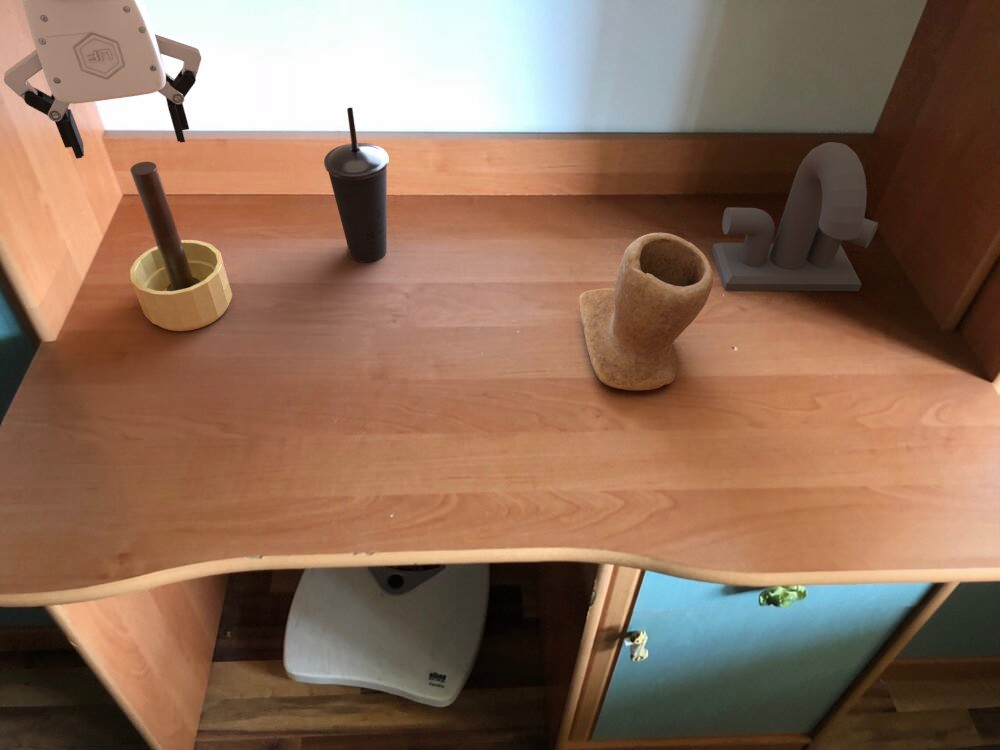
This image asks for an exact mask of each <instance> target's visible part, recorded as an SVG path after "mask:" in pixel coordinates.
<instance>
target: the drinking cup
mask: <svg viewBox="0 0 1000 750" xmlns="http://www.w3.org/2000/svg"><path fill="white" fill-rule="evenodd" d="M346 112H347V120H348V127H349V136H350V143H346V144H342V145H339V146H337V147H335V148H333V149H331V150H329V152H328V153H327V154H326V155H325V157H324V159H323V160H324V161H323V165H324V168H325V170H326V171H327V172H328V176H329V180H330V184H331V187H332V191H333V195H334V199H335V203H336V206H337V210H338V214H339V218H340V222H341V226H342V229H343V233H344V237H345V240H346V244H347V248H348V249H347V250H348V253H349V256H350V258H352V259H353V260H355V261H357V262H360V263H373V262H377V261H379V260H381V259H382V258H384V256H386V254H387V240H388V239H387V236H388V235H387V230H388V229H387V227H388V226H387V224H388V223H387V222H388V221H387V219H388V217H387V212H388V211H387V210H388V209H387V204H388V203H387V201H388V198H387V195H388V194H387V193H388V192H387V190H388V189H387V187H388V185H387V182H388V181H387V179H388V177H387V176H388V166H389V163H390V159H389V154H388V153H387V151H386V150H385V149H384V148H383V147H380V146H378V145H377V144H376V145H375V144H372V143H366V142H358V137H357V129H356V123H355V121H356V120H355V114H354V108H353V107H348V108H347V109H346Z"/></svg>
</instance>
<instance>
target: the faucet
mask: <svg viewBox="0 0 1000 750" xmlns="http://www.w3.org/2000/svg"><path fill="white" fill-rule="evenodd" d="M867 193H868V190H867V179H866V174H865V170H864V167H863V164H862V162H861V160H860V158H859V156H858V154H857V153H856V151H854V150H853V149H852V148H851V147H849V146H848V145H846V144H845V143H841V142H834V141H828V142H824V143H821V144H819V145H818V146H815V147H814V148H813V149H811V150H810V151H809V152H808V153H807V154H806V155H805V157H804V158H803V159H802V161H801V162H800V165H799V166H798V169H797V171H796V174H795V176H794V178H793V182H792V185H791V188H790V191H789V194H788V197H787V201H786V203H785V206H784V209H783V212H782V215H781V220H780V222H779V225H778V227H777V232H776V225H775V221H774V219H773V218H772V216H771V215H770V214H769V213H768V212H767V211H765V210H763V209H759V208H757V207H730V206H729V207H728V206H727V207H726V208H725V209H724V212H723V215H722V222H721V223H722V225H721V226H722V232H723V234H724V235H735V236H739V235H740V236H741V235H743V236H745V237H744V241H743V242H717V243H716V242H715V243H712V247H711V251H710V252H711V254H712V257H713V259H714V262H715V266H716V269H717V272H718V275H719V278H720V281H721V284H722V286H723V287H722V288H723V289H724V290H723V291H724V292H725V291H726V292H727V291H729V292H730V291H732V292H734V291H736V292H738V291H739V292H740V291H741V292H743V291H744V292H770V291H771V292H860V289H861V288H862V282H861V280H860V278H859V277H858V275H857V272H856V271H855V269H854V267H853V265H852V263H851V261H850V259H849V257H848V256H847V253H846V252H845V250H844V248H843V246H842V242H843V241H844V242H847V243H850V244H852V245H855V246H858V247H860V248H862V249H867V248H868V247H869V245H870V243H872V240H873V238H874V237H875V234H876V232H877V229H878V226H879V222H876V221H874V220H871V219H868V218H865V216H866V215H865V214H866V208H867ZM775 232H776V233H775ZM774 237H775V238H774ZM773 240H774V241H773Z"/></svg>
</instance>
